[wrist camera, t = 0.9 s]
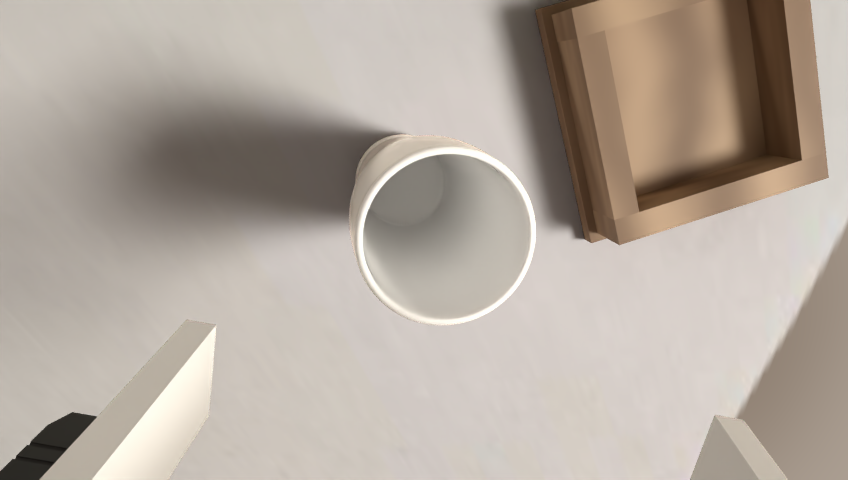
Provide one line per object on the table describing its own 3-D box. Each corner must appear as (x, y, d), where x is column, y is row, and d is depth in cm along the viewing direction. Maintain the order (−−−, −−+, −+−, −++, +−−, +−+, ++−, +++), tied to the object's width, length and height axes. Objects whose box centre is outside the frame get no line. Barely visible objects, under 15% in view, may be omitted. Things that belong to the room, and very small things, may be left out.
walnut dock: (585, 239, 39) (612, 255, 36) (535, 10, 36) (560, 1, 32) (788, 174, 40) (837, 183, 37) (760, -56, 37) (811, -72, 33)
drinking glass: (330, 222, 37) (333, 310, 22) (356, 107, 35) (376, 122, 21) (441, 246, 38) (510, 343, 24) (470, 136, 37) (562, 168, 22)
